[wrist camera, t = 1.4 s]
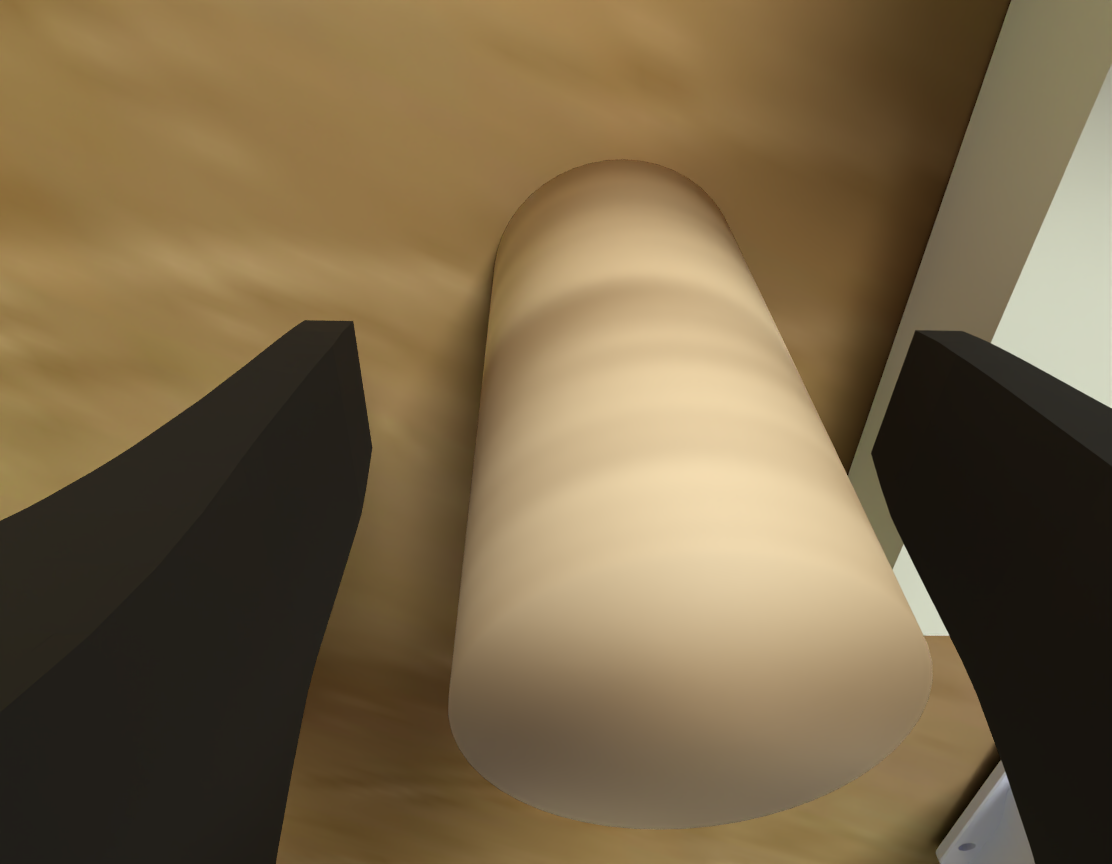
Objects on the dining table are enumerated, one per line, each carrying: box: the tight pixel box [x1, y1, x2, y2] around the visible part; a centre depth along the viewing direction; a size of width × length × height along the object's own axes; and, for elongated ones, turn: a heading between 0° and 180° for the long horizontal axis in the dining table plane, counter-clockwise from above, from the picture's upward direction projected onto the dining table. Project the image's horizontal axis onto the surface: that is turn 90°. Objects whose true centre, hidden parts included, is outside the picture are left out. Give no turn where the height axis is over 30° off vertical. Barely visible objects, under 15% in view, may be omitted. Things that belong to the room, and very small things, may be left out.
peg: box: [448, 160, 933, 829], centre depth 10 cm, size 4×4×8 cm
